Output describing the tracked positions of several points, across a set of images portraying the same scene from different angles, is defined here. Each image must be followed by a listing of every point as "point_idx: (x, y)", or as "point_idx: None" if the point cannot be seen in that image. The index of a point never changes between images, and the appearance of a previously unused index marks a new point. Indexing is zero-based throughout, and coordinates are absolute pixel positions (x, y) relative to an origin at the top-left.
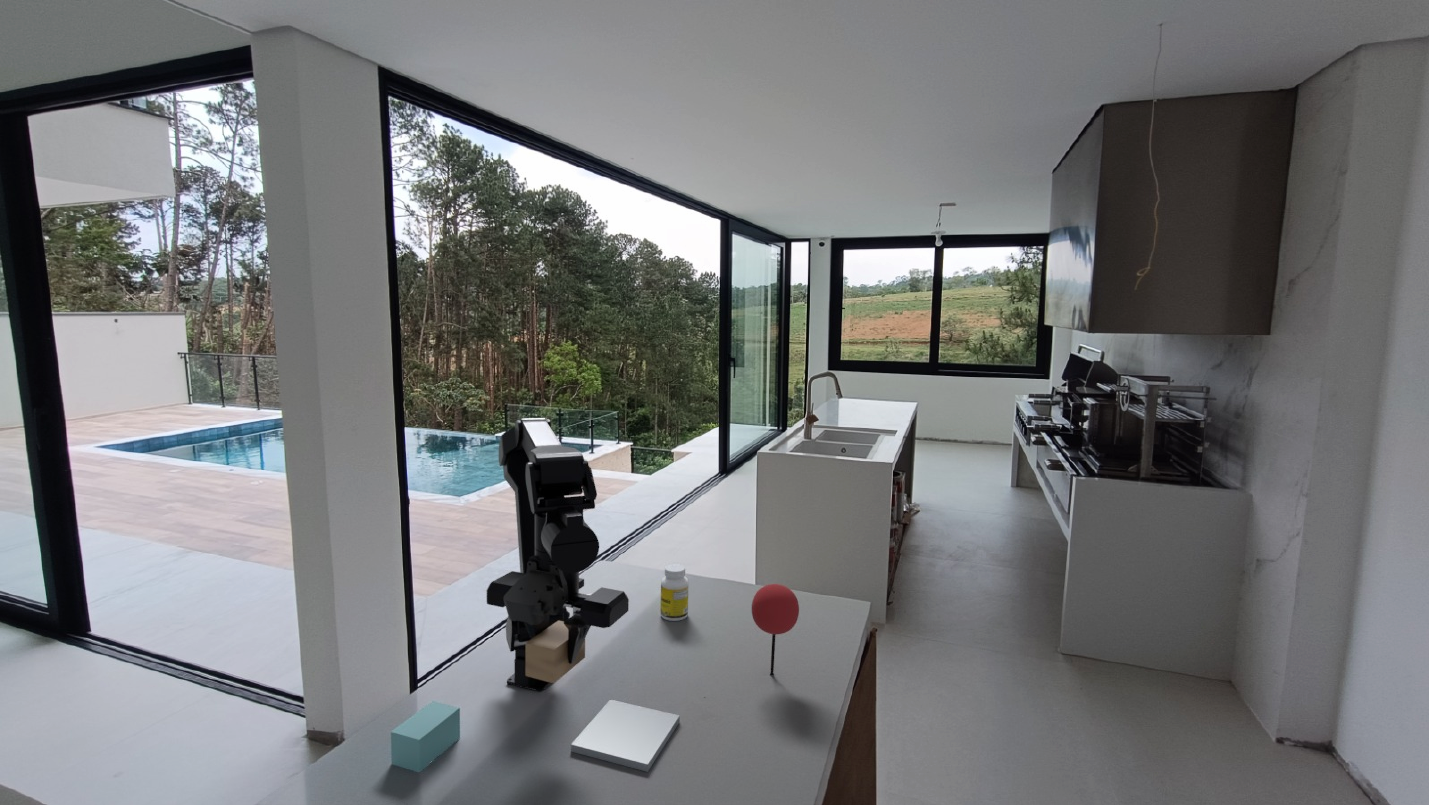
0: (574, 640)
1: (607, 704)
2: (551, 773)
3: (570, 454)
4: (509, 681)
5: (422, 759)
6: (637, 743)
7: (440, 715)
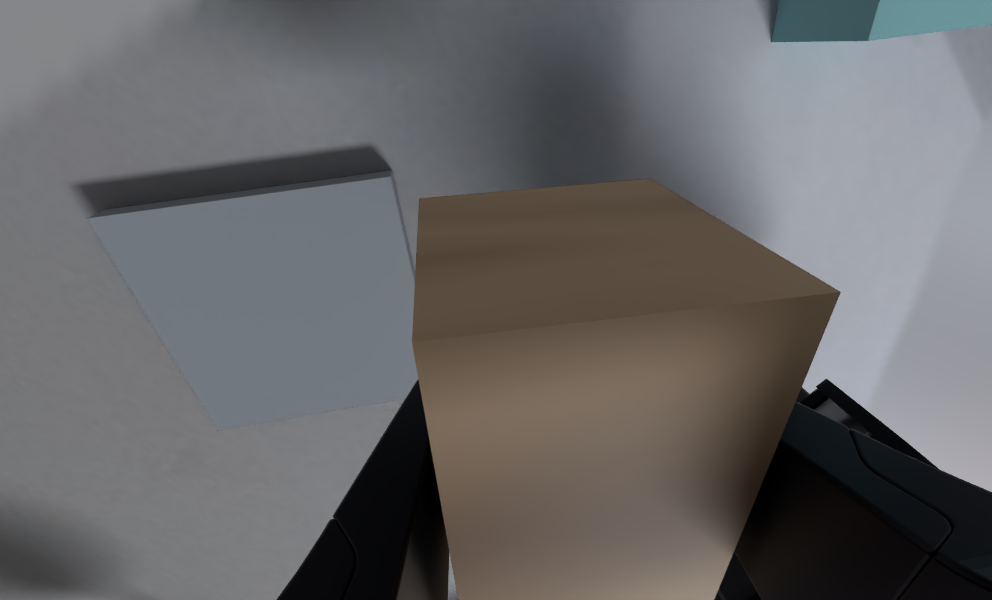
0: (322, 559)
1: None
2: (367, 41)
3: None
4: None
5: None
6: (209, 284)
7: None
